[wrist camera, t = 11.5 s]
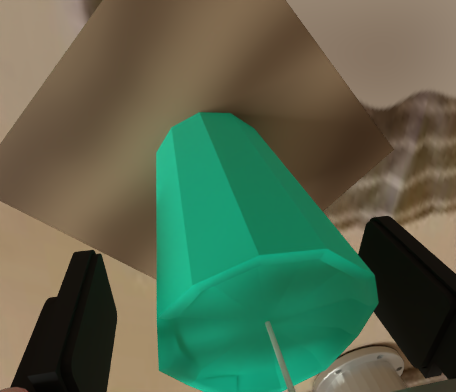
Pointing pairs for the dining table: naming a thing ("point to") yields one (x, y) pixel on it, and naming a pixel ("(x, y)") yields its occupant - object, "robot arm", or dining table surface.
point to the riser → (176, 114)
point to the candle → (247, 265)
